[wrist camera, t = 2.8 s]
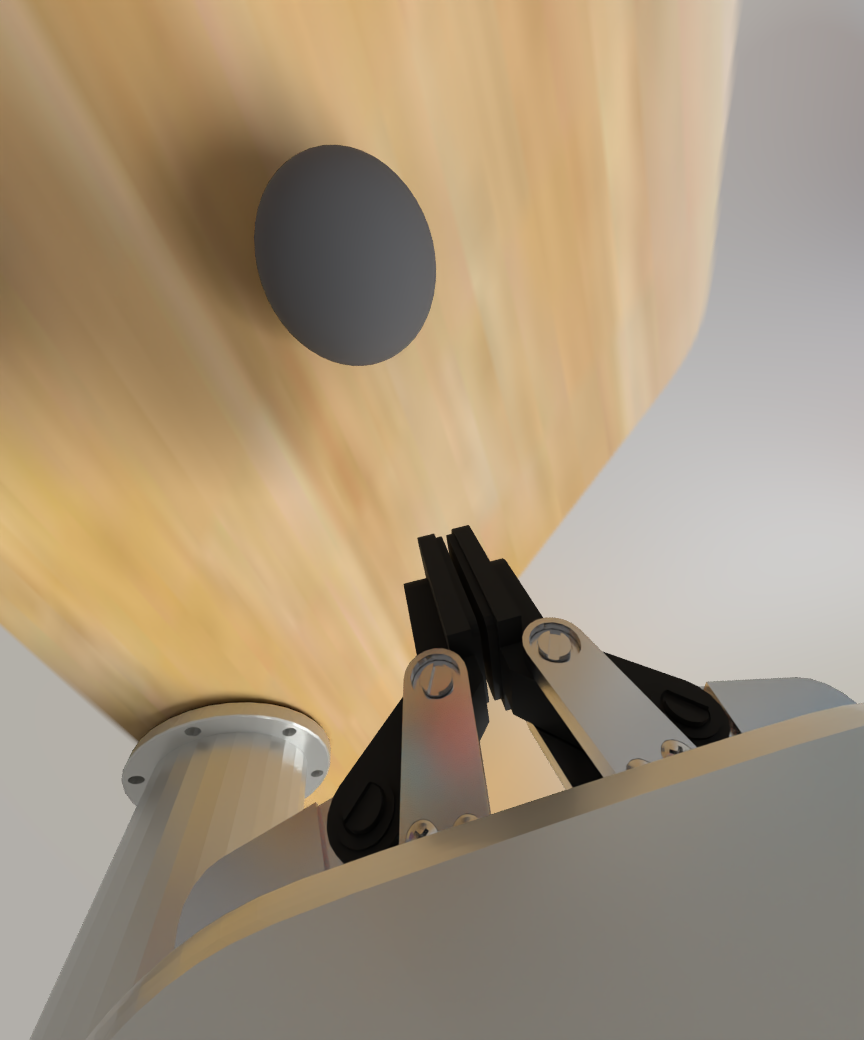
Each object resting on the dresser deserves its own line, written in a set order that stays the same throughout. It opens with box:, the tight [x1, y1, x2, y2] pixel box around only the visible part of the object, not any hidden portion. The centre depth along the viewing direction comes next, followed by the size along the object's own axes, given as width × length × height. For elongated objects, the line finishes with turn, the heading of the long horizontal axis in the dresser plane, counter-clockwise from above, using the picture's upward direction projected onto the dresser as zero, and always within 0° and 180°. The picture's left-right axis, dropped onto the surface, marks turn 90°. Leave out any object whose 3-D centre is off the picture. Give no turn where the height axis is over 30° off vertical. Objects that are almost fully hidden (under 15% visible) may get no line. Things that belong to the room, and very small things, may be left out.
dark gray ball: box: [254, 145, 436, 366], centre depth 11 cm, size 6×6×6 cm
